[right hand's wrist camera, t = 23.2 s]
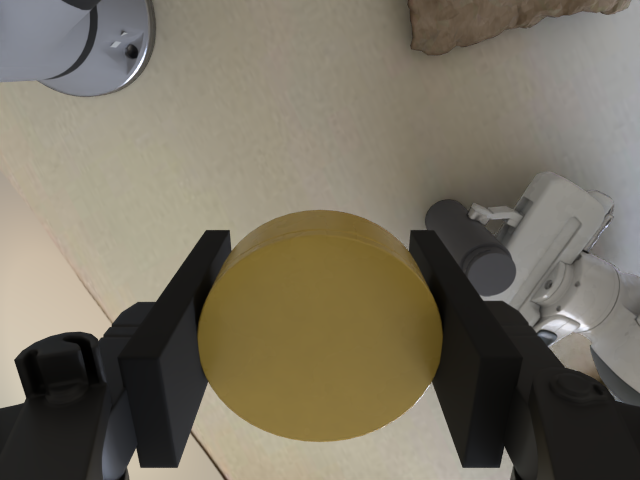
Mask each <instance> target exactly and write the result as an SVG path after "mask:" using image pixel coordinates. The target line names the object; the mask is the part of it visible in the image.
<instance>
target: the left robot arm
mask: <svg viewBox="0 0 640 480" xmlns="http://www.w3.org/2000/svg"><path fill="white" fill-rule="evenodd" d="M613 211H614V202H613V200H612V199H611V198H610V197H609V196H607V195H605V194H603V193H601V192H599V191H597V190H588V191H585V190H584V189H582V188H581V187H579V186H578V185H576V184H574V183H573V182H571V181H569V180H568V179H566V178H564V177H562V176H560V175H558V174H556V173H554V172H551V171H546V172H541V173H538V174H536V175H535V177H534V178H533V180H532V181H531V183H530V184H529V186H528V187H527V189H526V190H525V192H524V193H523V195H522V196H521V198H520V200H519V201H518V203H517V204H516V206H515V207H514V209H511V208H509V207H507V206H498V207H489V208H485V207H482V206H480V205H478V204H476V203H473V205H472V206H471V208H470V209H469V211H468V213H467V214H466V215H467V216H469V218H470V219H472V220H474V221H476V222H477V221H478V222H479V223H480V224H482V225H484V226H485V225H486V224H487V222H488V221H489V219H502V220H503V221H504V224H503V225H502V227H501V228H500V230H499V231H498V233H497V234H496V236H495V238H496V239H497V240H498V241H499V242H500V243H502V244H503V245H504V246H505V247H506V248H507V249H508V251H509V252H510V254H511V256H512V260H513V261H514V263H515V266H516V277H515V279H514V281H513V283H512V285H511V286H510V287H509V288H508V289H507V290H505V291H504V292H502V293H500V294H498V295H494V296H490V297H484V296H481V295H480V297H481V298H482V299H483V301H504V302H505V303H507V304H509V305H510V306H512V307H513V308H515V309H516V310H518V311H519V312H520V313H521V314H522V315H523V317H524V318H525V319H526V320H527V322H528V323H529V326H532V328H533V329H534V330H535V331H536V333H537V336H540V338H541V339H542V340H543V341H544V342H545V344H546V345H547V346H548V347H550V346H551V345H552V344H554V343H555V342H557V341H559V340H560V339H562V338H564V337H565V336H567V335H569V334H571V333H579V334H582V335H584V336H585V337H587V338H588V339H589V340H590V341H591V343H592V345H590V350H591V354H592V357H593V360H594V363H595V366H596V368H597V371H598V373H599V375H600V377H601V379H602V380H603V382H604V383H605V385H606V386H607V387H608V388H609V389H610V390H611V391H612V392H613V394H614V395H615V396H617V397H618V398H619V399H620V400H621V401H623V402H624V403H625V404H630V405H635V406H640V277H638V276H636V275H633V274H629V273H622V272H620V271H619V270H618V269H617V268H616V267H615V266H613V265H612V264H610V263H609V262H607V261H605V260H603V259H600V258H598V257H596V256H594V255H592V254H590V253H588V252H589V251H590V250H591V248H592V247H593V246H594V244H595V243H596V242H597V240H598V239H599V237H600V235H601V233H602V232H603V231H604V229H605V228H606V227H608V226H609V225H610V223H611V222H612V220H613V218H614V216H612V213H613Z"/></svg>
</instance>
